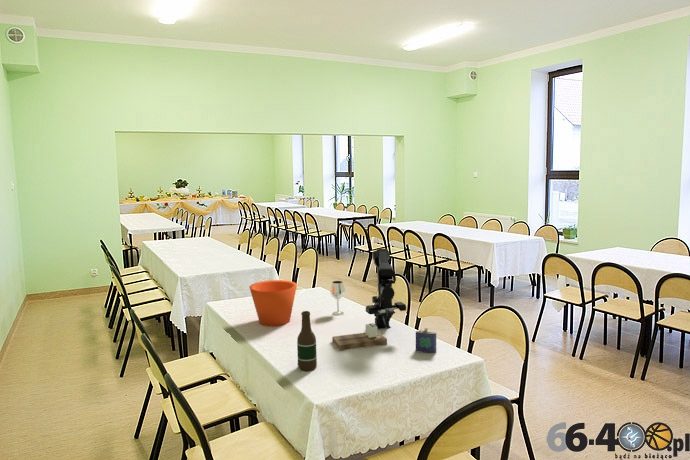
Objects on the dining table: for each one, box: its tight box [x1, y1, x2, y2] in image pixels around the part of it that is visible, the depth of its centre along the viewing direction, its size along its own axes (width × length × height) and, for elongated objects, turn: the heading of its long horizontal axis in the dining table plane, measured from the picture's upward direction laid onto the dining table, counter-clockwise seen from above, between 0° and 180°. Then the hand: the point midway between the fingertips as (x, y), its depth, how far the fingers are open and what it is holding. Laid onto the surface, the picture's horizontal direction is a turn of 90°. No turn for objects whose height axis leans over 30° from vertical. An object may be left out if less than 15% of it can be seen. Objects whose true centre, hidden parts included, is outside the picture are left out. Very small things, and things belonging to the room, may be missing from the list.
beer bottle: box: [296, 310, 318, 372], centre depth 210 cm, size 8×8×24 cm
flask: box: [415, 327, 437, 354], centre depth 226 cm, size 9×3×11 cm, turn 74°
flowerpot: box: [249, 279, 298, 327], centre depth 272 cm, size 25×25×20 cm
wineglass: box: [330, 280, 346, 316], centre depth 284 cm, size 8×8×18 cm
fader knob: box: [365, 322, 378, 338], centre depth 240 cm, size 4×5×5 cm
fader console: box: [331, 330, 388, 351], centre depth 239 cm, size 23×12×3 cm, turn 107°
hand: (386, 325), depth 242 cm, fingers closed
